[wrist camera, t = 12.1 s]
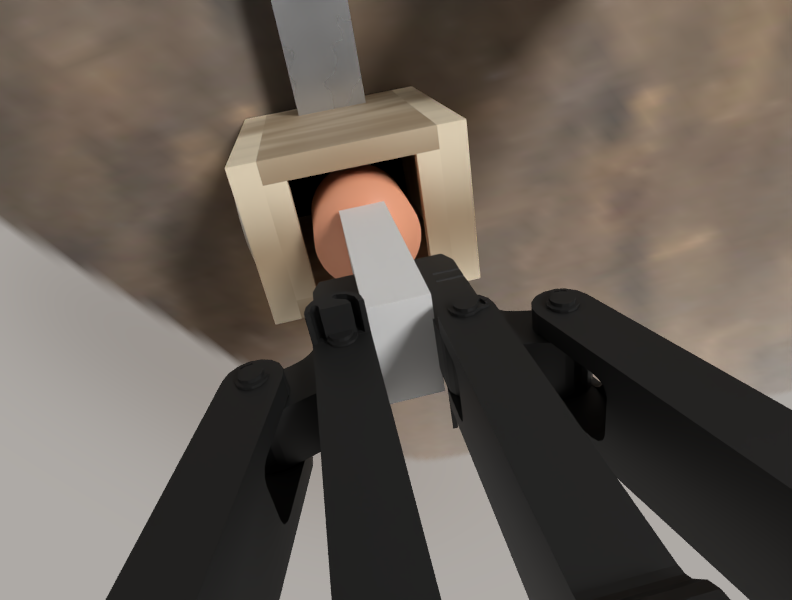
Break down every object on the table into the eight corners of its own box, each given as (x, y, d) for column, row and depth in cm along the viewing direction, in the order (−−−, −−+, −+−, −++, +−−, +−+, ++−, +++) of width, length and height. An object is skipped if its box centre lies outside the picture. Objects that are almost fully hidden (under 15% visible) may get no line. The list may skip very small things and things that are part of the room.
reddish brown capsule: (300, 174, 19) (302, 199, 17) (396, 154, 20) (413, 176, 17) (323, 262, 21) (327, 297, 18) (410, 243, 21) (427, 274, 19)
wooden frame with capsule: (236, 120, 25) (212, 170, 17) (411, 86, 25) (466, 118, 17) (272, 238, 28) (264, 326, 20) (427, 204, 28) (480, 278, 20)
